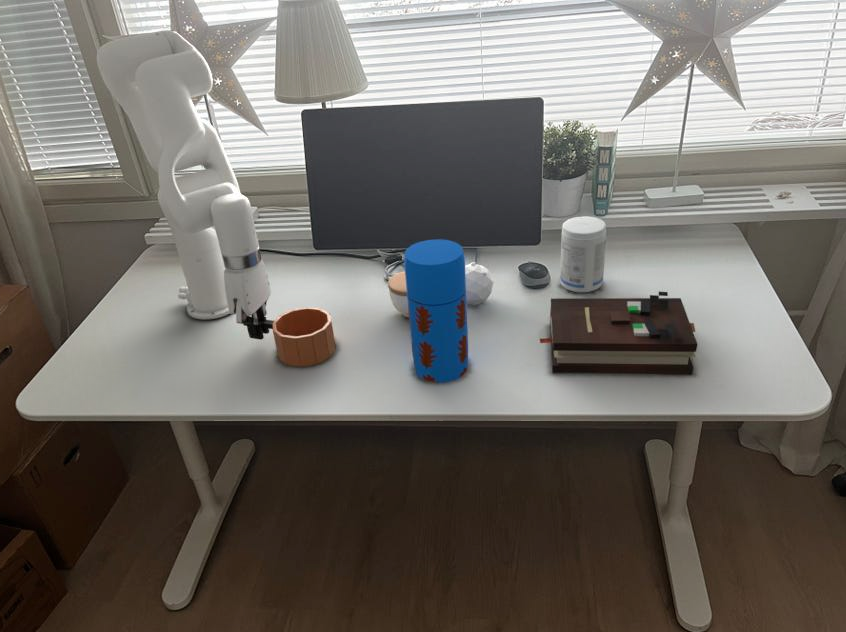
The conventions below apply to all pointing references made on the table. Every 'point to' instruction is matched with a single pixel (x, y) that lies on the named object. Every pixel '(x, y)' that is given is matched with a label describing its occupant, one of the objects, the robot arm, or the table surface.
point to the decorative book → (621, 336)
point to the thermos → (437, 309)
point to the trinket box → (399, 293)
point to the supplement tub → (582, 254)
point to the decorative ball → (477, 283)
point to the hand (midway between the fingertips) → (259, 334)
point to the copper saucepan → (302, 336)
